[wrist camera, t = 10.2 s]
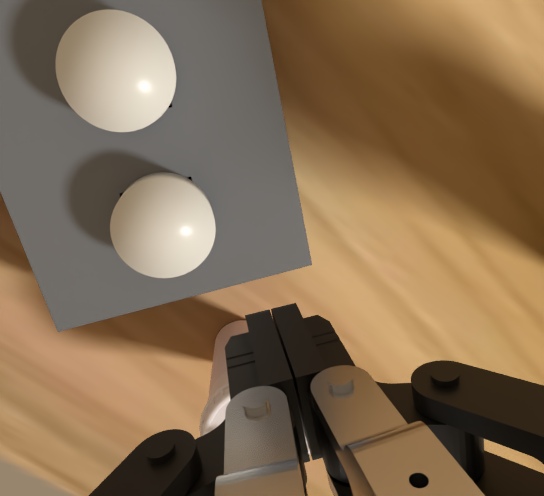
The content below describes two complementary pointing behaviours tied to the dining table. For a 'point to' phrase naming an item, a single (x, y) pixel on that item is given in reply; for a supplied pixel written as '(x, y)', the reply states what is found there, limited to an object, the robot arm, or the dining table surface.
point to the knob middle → (115, 70)
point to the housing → (146, 156)
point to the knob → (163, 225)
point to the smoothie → (220, 379)
